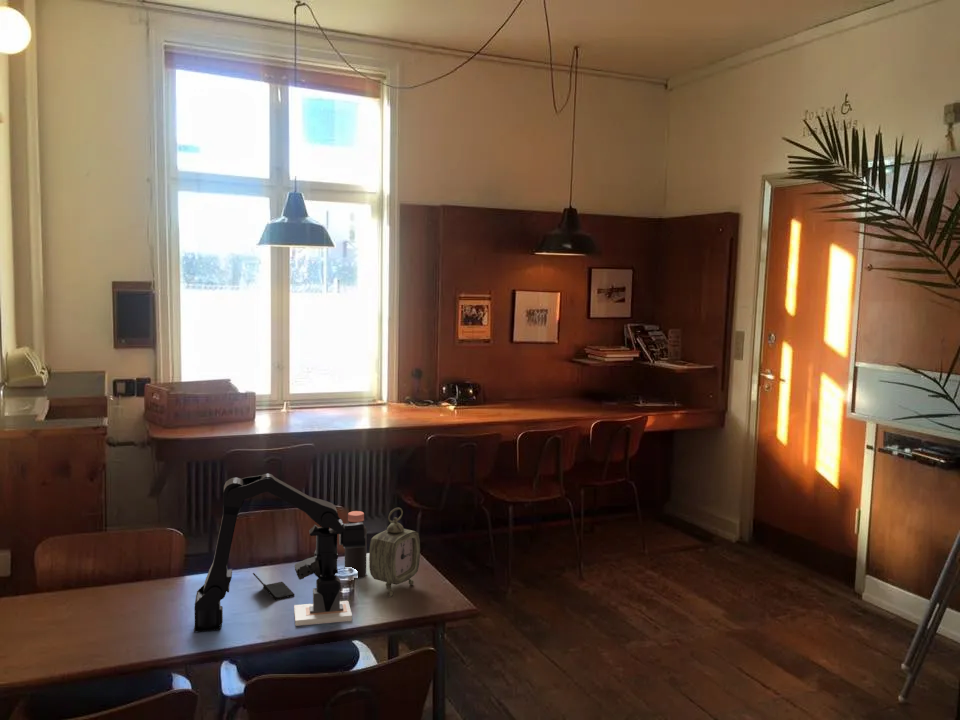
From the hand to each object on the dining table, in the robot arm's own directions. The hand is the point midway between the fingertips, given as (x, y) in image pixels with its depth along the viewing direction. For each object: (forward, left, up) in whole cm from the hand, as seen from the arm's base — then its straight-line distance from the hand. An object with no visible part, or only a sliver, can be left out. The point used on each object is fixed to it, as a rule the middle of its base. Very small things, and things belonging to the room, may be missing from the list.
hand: (326, 604), depth 213 cm
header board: (-1, 0, -3) cm, 3 cm away
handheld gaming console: (-14, +18, -4) cm, 23 cm away
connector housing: (0, 0, -1) cm, 1 cm away
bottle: (+11, +27, -3) cm, 30 cm away
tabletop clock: (+21, +14, -3) cm, 26 cm away
